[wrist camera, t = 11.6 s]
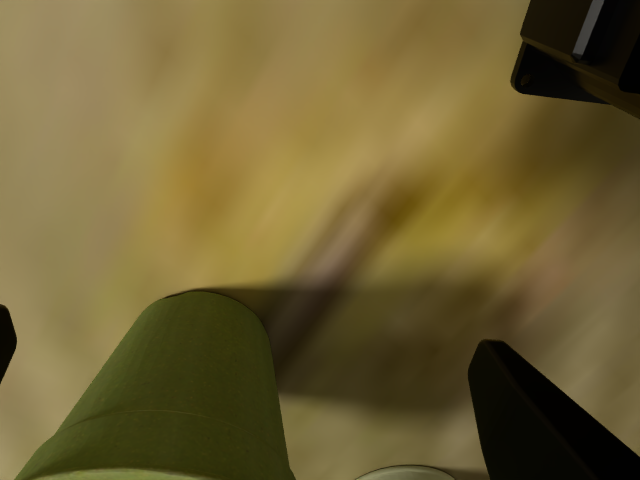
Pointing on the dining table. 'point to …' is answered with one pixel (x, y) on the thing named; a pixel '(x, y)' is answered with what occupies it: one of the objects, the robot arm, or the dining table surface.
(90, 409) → the plant pot
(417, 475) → the can
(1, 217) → the dining table surface
